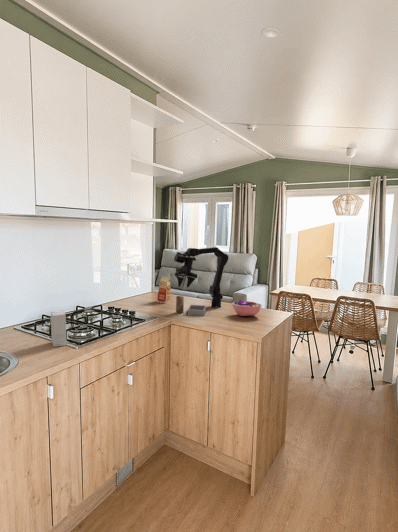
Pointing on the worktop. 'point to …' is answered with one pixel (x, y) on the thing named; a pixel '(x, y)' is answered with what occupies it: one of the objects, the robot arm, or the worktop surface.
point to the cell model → (246, 308)
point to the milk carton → (164, 290)
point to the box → (196, 310)
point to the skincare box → (58, 328)
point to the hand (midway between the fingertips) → (183, 287)
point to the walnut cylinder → (179, 304)
